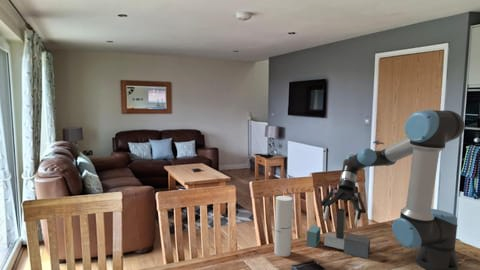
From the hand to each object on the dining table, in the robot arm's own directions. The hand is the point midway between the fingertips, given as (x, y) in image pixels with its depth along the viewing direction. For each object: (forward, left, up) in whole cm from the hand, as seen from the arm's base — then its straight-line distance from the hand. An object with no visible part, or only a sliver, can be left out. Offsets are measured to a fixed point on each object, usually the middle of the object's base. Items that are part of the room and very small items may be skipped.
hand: (339, 222), depth 146 cm
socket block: (+12, -1, -13) cm, 17 cm away
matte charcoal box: (-8, -1, -13) cm, 15 cm away
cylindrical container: (+21, +16, -13) cm, 30 cm away
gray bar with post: (-3, -1, -12) cm, 12 cm away
